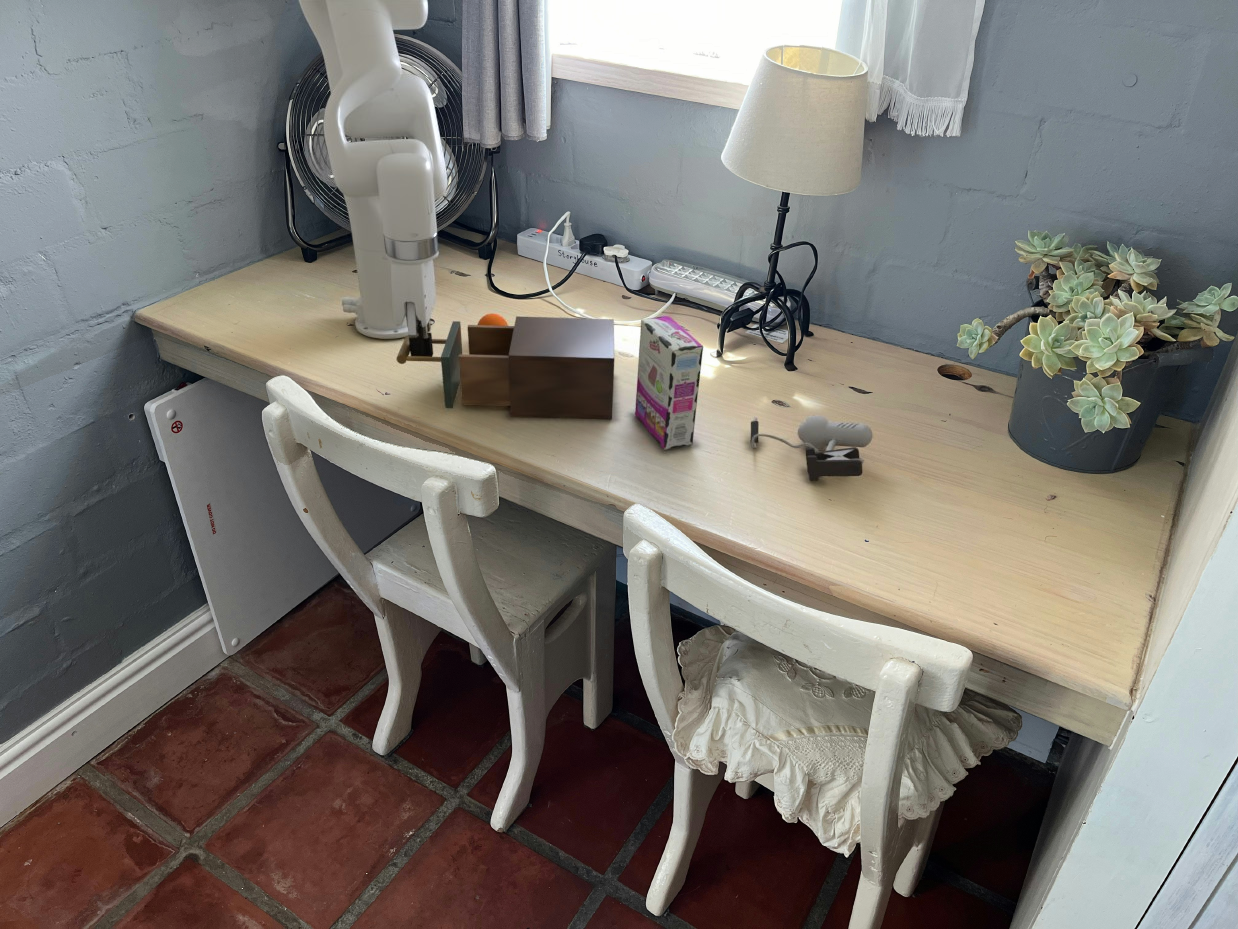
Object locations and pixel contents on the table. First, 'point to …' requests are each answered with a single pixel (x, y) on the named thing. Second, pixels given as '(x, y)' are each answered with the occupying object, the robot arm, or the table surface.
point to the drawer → (472, 364)
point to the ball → (492, 320)
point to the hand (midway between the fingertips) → (422, 357)
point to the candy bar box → (668, 381)
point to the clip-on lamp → (829, 434)
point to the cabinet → (562, 368)
